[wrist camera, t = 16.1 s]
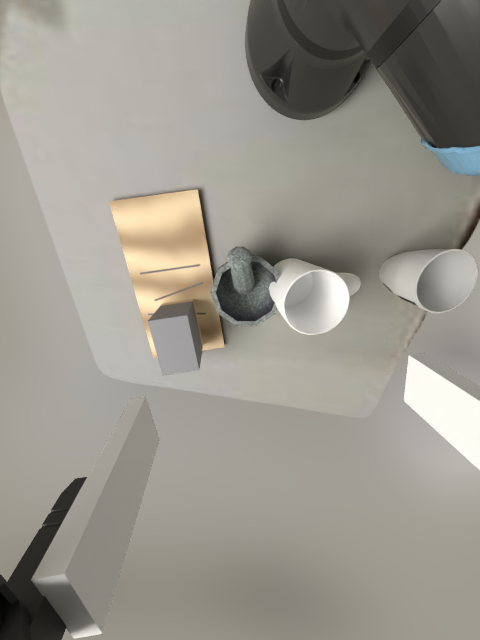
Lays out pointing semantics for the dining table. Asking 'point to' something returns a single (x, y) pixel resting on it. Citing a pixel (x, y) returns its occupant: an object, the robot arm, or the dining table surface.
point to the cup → (431, 277)
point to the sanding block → (177, 337)
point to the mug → (312, 295)
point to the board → (168, 257)
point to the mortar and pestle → (244, 288)
